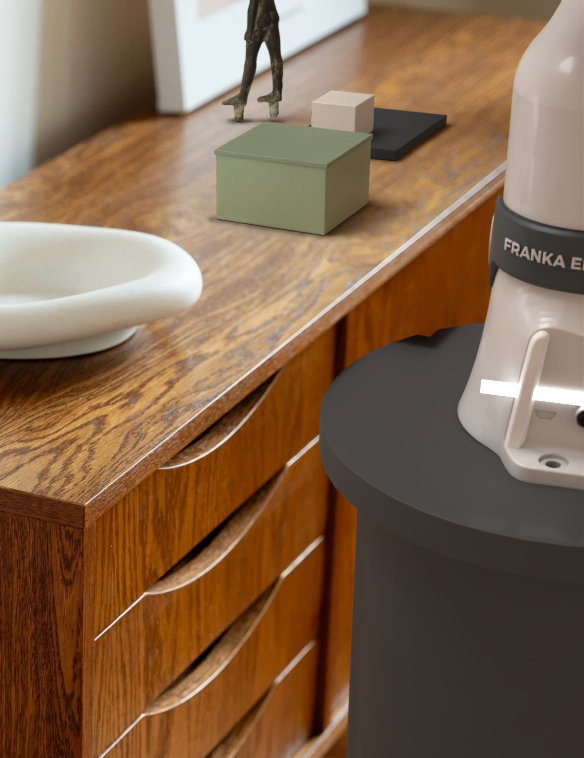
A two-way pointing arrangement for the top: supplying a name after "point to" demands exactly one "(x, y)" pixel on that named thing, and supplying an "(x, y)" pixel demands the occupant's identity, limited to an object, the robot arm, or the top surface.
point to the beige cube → (344, 111)
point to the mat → (401, 131)
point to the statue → (258, 31)
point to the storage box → (293, 177)
